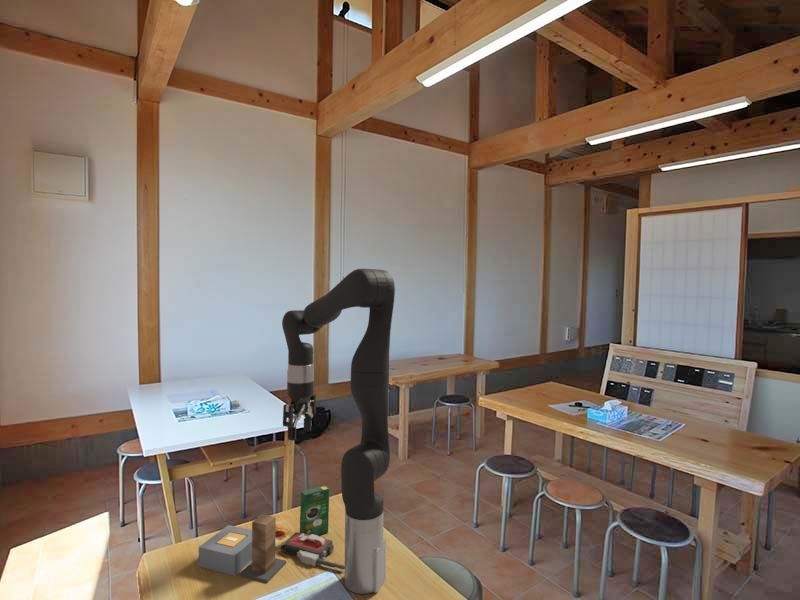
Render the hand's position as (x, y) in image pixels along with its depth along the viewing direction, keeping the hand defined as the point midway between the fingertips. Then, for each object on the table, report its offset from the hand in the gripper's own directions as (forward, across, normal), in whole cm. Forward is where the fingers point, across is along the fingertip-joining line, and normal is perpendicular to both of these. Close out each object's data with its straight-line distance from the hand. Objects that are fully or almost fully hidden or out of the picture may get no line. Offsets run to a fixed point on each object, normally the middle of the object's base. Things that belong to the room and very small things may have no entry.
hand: (300, 435), depth 126 cm
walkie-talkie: (+29, -8, -10) cm, 32 cm away
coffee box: (+28, 0, -5) cm, 29 cm away
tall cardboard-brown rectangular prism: (+28, -18, -1) cm, 33 cm away
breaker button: (+27, -17, +10) cm, 33 cm away
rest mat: (+28, -18, -1) cm, 33 cm away
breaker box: (+28, -17, +10) cm, 34 cm away
